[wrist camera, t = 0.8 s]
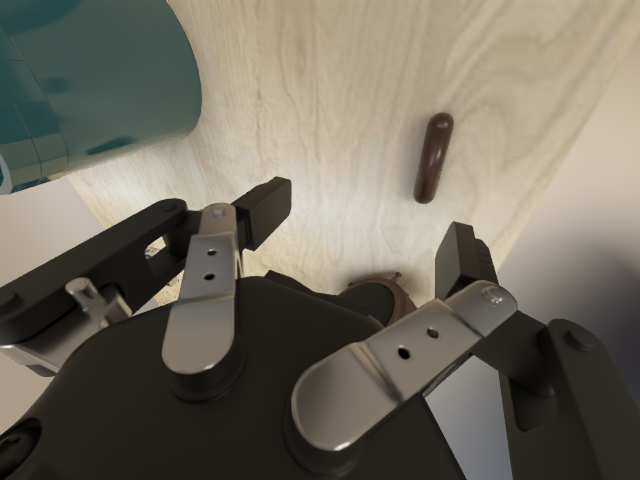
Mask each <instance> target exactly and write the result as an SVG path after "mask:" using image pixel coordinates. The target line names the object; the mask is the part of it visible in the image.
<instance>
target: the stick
mask: <svg viewBox="0 0 640 480" xmlns="http://www.w3.org/2000/svg"><path fill="white" fill-rule="evenodd" d="M453 126H454V120H453V118H452V116H451V115H450V114H448V113H444V112H443V113H438V114H436V115H435V116H433V117H432V118H431V120H430V121H429V123H428V127H427V132H426V137H425V142H424V146H423V151H422V156H421V160H420V165H419V170H418V175H417V179H416V184H415V189H414V194H413V195H414V199H415V200H416V201H417V202H418V203H420V204H427V203H429V202H431V201H432V200H433V198H434V196H435V193H436V189H437V185H438V182H439V178H440V174H441V170H442V167H443V163H444V159H445V156H446V152H447V148H448V145H449V141H450V137H451V133H452V130H453Z"/></svg>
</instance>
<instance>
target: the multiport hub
mask: <svg viewBox="0 0 640 480" xmlns="http://www.w3.org/2000/svg"><path fill="white" fill-rule="evenodd" d="M159 251H160V250H159V249H156V248H151V247H147V248H146V251H145V256H146V258H147V260H148V259H149V258H151V257H152V256H153V255H155V254H156V253H157V252H159ZM177 281H178V279H177V277H175V278H174V279H172V280H171V281H170V282H169V283H168V284H167V286H173V285H174V284H175V283H176V282H177Z"/></svg>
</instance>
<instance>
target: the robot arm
mask: <svg viewBox="0 0 640 480" xmlns="http://www.w3.org/2000/svg"><path fill="white" fill-rule="evenodd" d="M291 187H292V185H291V181H290V180H289V179H285V178H281V177H277V176H276V177H274V178H273V179H271V180H270V181H269V182H267V183H264V184H261V185H258V186H256V187H254V188H253V189H251V191H248V192H247V193H246V194H244V195H243V196H241V197H240V198H238V199H237V200H235V201H234V202H232V203H231V204H228V203H215V204H211V205H209V206H207V207H205V208H204V209H203V210H202V211H192V210H188V207H187V204H186V202H185V201H184V200H182V199H176V198H172V199H165V200H161V201H158V202H156V203H154V204H152V205H151V206H149V207H147V208H145V209H143V210H141V211H140V212H138V213H136V214H134V215H132V216H130V217H129V218H127V219H125V220H123V221H121V222H120V223H118V224H116V225H114V226H112V227H110V228H109V229H107V230H105V231H103V232H101V233H99V234H98V235H96V236H94V237H92V238H90V239H89V240H87V241H85V242H83V243H81V244H79V245H78V246H76V247H74V248H72V249H70V250H68V251H67V252H65V253H63V254H61V255H59V256H58V257H55V258H54V259H52V260H50V261H48V262H46V263H45V264H43V265H41V266H39V267H37V268H36V269H33V270H32V271H30V272H28V273H26V274H24V275H23V276H21V277H19V278H17V279H15V280H13V281H12V282H10V283H8V284H6V285H4V286H2V287H1V288H0V351H1V352H2V353H4V354H5V355H7V356H8V357H9V358H11V359H13V360H14V361H15V362H17V363H19V364H21V365H25V366H27V367H28V368H29V369H31V370H32V371H34V372H35V373H37V374H39V375H40V376H43V377H51V376H55V377H54V379H53V380H52V382H51V383H50V384H49V386H48V387H47V388H46V390H45V391H44V393H43V394H42V395H41V396H40V397H39V398H38V399H37V401H36V402H35V403H34V404H33V405H32V406H31V407H30V408H29V410H28V411H27V412H26V413H25V414H24V415H23V416H22V417H21V418H20V419H19V420H18V421H17V422H16V423H15V424H14V425H13V426H11V427H10V428H9V429H8V430H7V431H5V432H4V433H3V434H2V435H0V480H467V479H466V477H465V475H464V473H463V472H462V470H461V468H460V466H459V464H458V462H457V460H456V458H455V456H454V454H453V452H452V450H451V449H450V447H449V445H448V443H447V441H446V439H445V437H444V435H443V433H442V431H441V429H440V427H439V425H438V423H437V421H436V420H435V418H434V416H433V414H432V412H431V410H430V408H429V406H428V404H427V402H426V400H425V397H426V396H428V395H429V394H430V393H431V392H432V391H433V390H434V389H435V388H436V387H437V386H438V385H439V384H440V383H441V382H442V381H444V380H445V379H446V378H447V377H448V376H449V375H450V374H452V373H453V372H454V371H455V370H456V369H458V368H459V367H460V366H461V365H462V364H463V363H464V362H466V361H467V360H468V359H469V358H470V357H471V356H473V355H475V356H476V357H478V358H479V359H481V360H482V361H484V362H485V363H487V364H489V365H490V366H492V367H493V368H495V369H496V370H498V371H499V380H500V387H501V394H502V402H503V409H504V417H505V424H506V432H507V439H508V447H509V454H510V461H511V469H512V476H513V480H640V410H639V408H638V406H637V404H636V402H635V400H634V399H633V397H632V395H631V393H630V391H629V389H628V387H627V385H626V383H625V382H624V379H623V378H622V376H621V374H620V372H619V370H618V368H617V366H616V364H615V362H614V361H613V359H612V357H611V355H610V353H609V351H608V349H607V348H606V346H605V345H604V344H603V343H602V342H601V341H600V340H599V339H598V338H597V337H596V336H595V335H594V334H592V333H591V332H590V331H588V330H587V329H585V328H584V327H582V326H580V325H578V324H576V323H574V322H571V321H568V320H565V319H553V320H551V321H550V322H549V323H548V324H546V325H545V324H543V323H541V322H539V321H537V320H535V319H534V318H532V317H530V316H528V315H526V314H524V313H522V312H521V311H519V310H518V305H517V302H516V300H515V298H514V297H513V296H512V295H511V293H509V292H508V291H507V290H505V289H504V288H503V287H501V286H499V283H498V280H497V276H496V272H495V269H494V265H492V264H493V262H492V258H491V255H490V251H489V248H488V247H487V246H486V245H485V243H484V242H483V241H482V240H480V239H476V238H475V236H474V231H473V227H472V226H471V225H467V224H463V223H459V222H455V221H453V222H452V223H451V225H450V227H449V229H448V231H447V233H446V235H445V237H444V238H443V240H442V242H441V244H440V246H439V248H438V251H437V254H436V258H435V299H433V300H431V301H430V302H428V303H426V304H425V305H423V306H421V307H420V308H418V309H416V310H415V311H413V312H411V313H410V314H408V315H406V316H404V317H403V318H401V319H399V320H398V321H396V322H394V323H393V324H391V325H389V326H388V327H386V328H385V327H384V326H383V325H382V324H381V323H380V322H378V321H377V320H376V319H375V318H373V317H372V316H370V315H369V311H370V308H371V306H369V305H366V304H363V303H361V302H358V301H355V300H352V299H349V298H347V297H344V296H337V295H330V294H323V293H316V292H314V291H312V290H310V289H309V288H307V287H306V286H304V285H303V284H301V283H299V282H298V281H296V280H295V279H293V278H291V277H288V276H285V275H283V274H280V273H277V272H274V271H272V270H269V271H268V273H267V274H266V275H265V276H264V277H263V276H250V277H244V265H243V253H242V251H243V250H244V249H245V248H246V249H249V250H252V251H255V250H256V249H257V248H258V247H259V246H260V245H261V244H262V243H263V242H264V241H265V240H266V239H267V238H268V237H269V236H270V235H271V234H272V233H273V232H274V230H275V229H276V228H277V227H278V226H279V225H280V224H281V223H282V222H283V221H284V220H285V219H286V218H287V217H288V216H289V214H290V211H291ZM161 236H162V237H163V240H164V242H165V245H166V246H165V247H164V248H163V249H161V250H160V251H159V252H157V253H156V254H155V255H153V256H152V257H151V258H149V259H148V260H147V258H146V256H145V251H146V248H147V247H148V246H149V245H150V244H151V243H152V242H154V241H155V240H157V239H158V238H160V237H161ZM182 270H184V274H183V279H182V283H181V288H180V293H179V298H178V300H177V301H174V302H171V303H169V304H166V305H163V306H160V307H158V308H155V309H152V310H149V311H146V312H144V313H141V314H138V315H135V316H132V315H133V314H135V313H136V312H137V311H138V310H139V309H140V308H141V307H142V306H143V305H145V304H146V303H147V302H148V301H149V300H150V299H151V298H152V297H153V296H155V295H156V294H157V293H158V292H159V291H160V290H161V289H162V288H164V287H165V286H166V285H167V284H168V283H169V282H170V281H171V280H172V279H174V278H175V277H176V276H177V275H178V274H179V273H180V272H181V271H182ZM131 316H132V317H131Z"/></svg>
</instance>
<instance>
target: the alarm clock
mask: <svg viewBox="0 0 640 480" xmlns="http://www.w3.org/2000/svg"><path fill="white" fill-rule="evenodd" d="M400 276H401V274H400V273H396V276H395V277H393V278H392V279H391V280H387V279H370V280H365V281H362V282H359V283H357V284H355V285H353V286H352V284H351V283H349V284H348V286H349V288H348V289H346V290H344V291H343V292H342V293H340V294H339V295H338V296H344V297H347V298H349V299H352V300H355V301H358V302H361V303H363V304H366V305H369V306H371V308H370V311H369V315H370V316H372V317H373V318H375V319H376V320H377V321H378V322H380V323H381V324H382V325H383V326H384V327H385V328H386V327H388V326H389V325H391V324H393V323H394V322H396V321H398V320H399V319H401V318H403V317H404V316H406V315H408V314H410V313H411V312H413V311H415V310H416V309H417V308H416V306H415V304H414V303H413V301H412V300H411V299H410V298H409V294H408V293H405V292H404V290H403V289H402V288H401V287H400V286H399V285H398V284H396V283H395V282H396V281H397V279H398V277H400Z"/></svg>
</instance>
